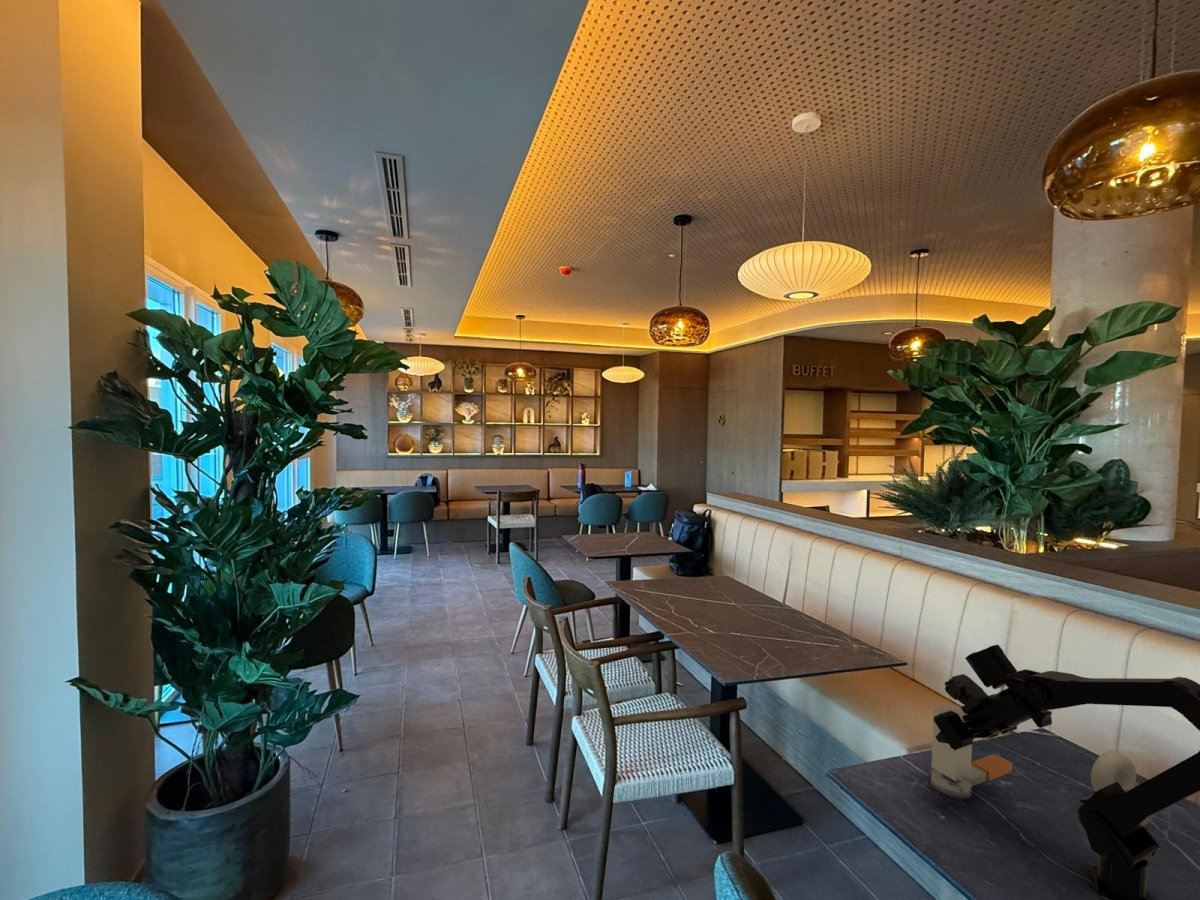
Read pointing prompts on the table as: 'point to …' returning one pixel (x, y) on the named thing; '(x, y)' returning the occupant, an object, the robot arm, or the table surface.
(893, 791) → the table surface
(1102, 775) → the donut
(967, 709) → the robot arm
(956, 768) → the tall beige block
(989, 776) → the ratchet
